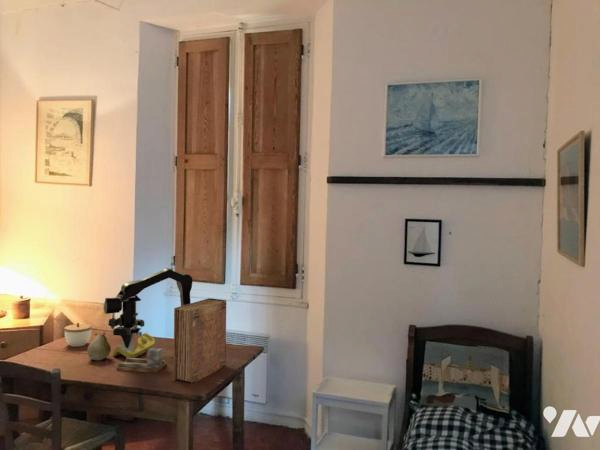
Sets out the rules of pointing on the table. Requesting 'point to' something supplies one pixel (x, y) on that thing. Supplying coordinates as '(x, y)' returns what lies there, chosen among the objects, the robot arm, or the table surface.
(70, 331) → the lidded bowl
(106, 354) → the fruit
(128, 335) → the robot arm
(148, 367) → the rail
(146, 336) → the plastic component
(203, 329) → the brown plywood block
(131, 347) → the grey green block
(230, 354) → the table surface
